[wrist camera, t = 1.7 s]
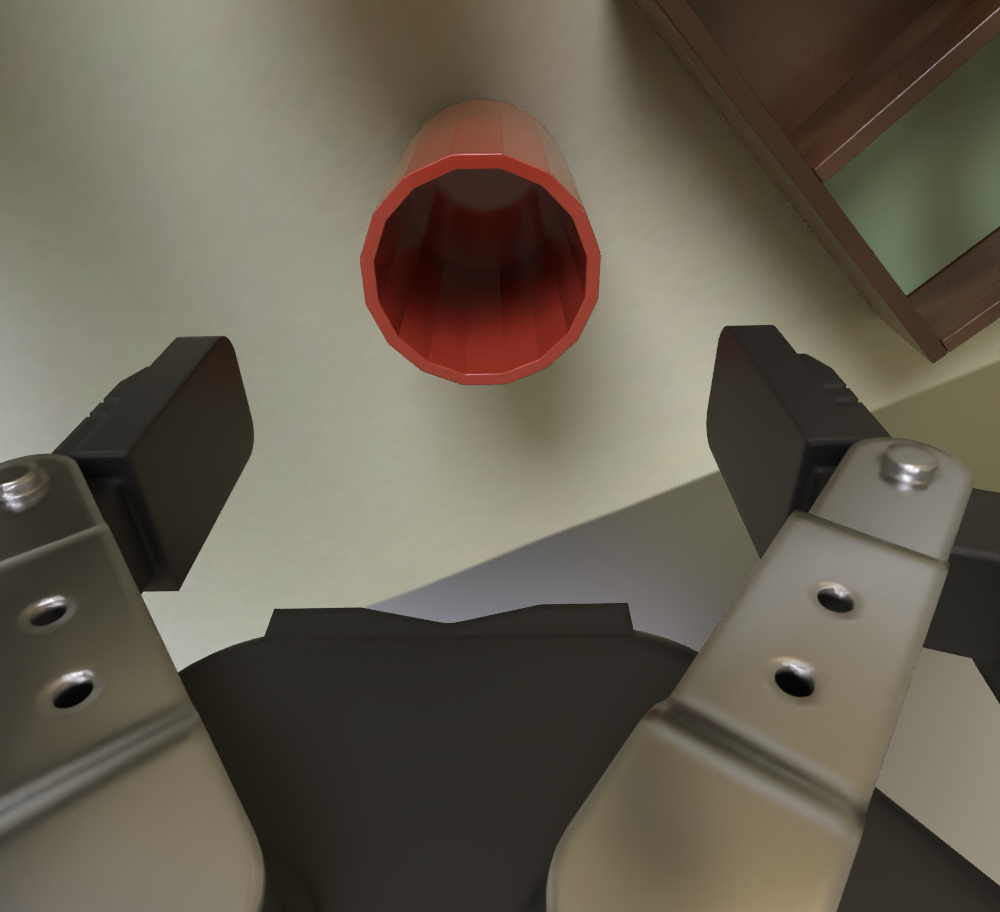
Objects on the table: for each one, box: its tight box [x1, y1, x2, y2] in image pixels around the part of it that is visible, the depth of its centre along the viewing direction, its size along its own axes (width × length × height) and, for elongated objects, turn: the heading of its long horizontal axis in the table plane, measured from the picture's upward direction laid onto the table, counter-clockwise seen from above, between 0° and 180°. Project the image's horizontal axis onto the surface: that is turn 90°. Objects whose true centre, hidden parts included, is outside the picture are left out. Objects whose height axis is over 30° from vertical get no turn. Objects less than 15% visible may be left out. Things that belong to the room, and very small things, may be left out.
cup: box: [360, 100, 601, 385], centre depth 22 cm, size 6×6×9 cm
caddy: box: [632, 0, 1000, 363], centre depth 22 cm, size 9×17×4 cm, turn 46°
